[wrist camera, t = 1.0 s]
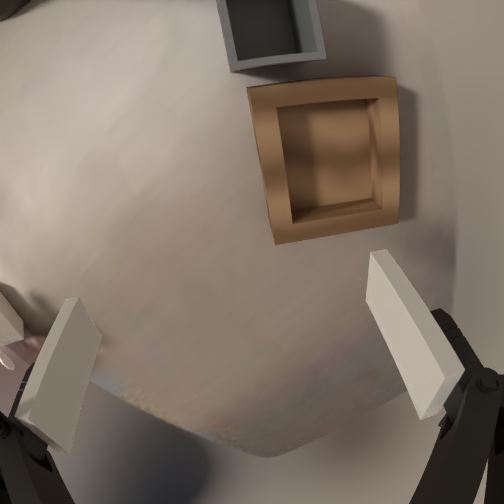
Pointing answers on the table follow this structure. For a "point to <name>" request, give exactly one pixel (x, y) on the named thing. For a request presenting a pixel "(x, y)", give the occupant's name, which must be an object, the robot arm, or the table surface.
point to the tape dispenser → (9, 329)
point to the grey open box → (270, 32)
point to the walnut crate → (328, 154)
